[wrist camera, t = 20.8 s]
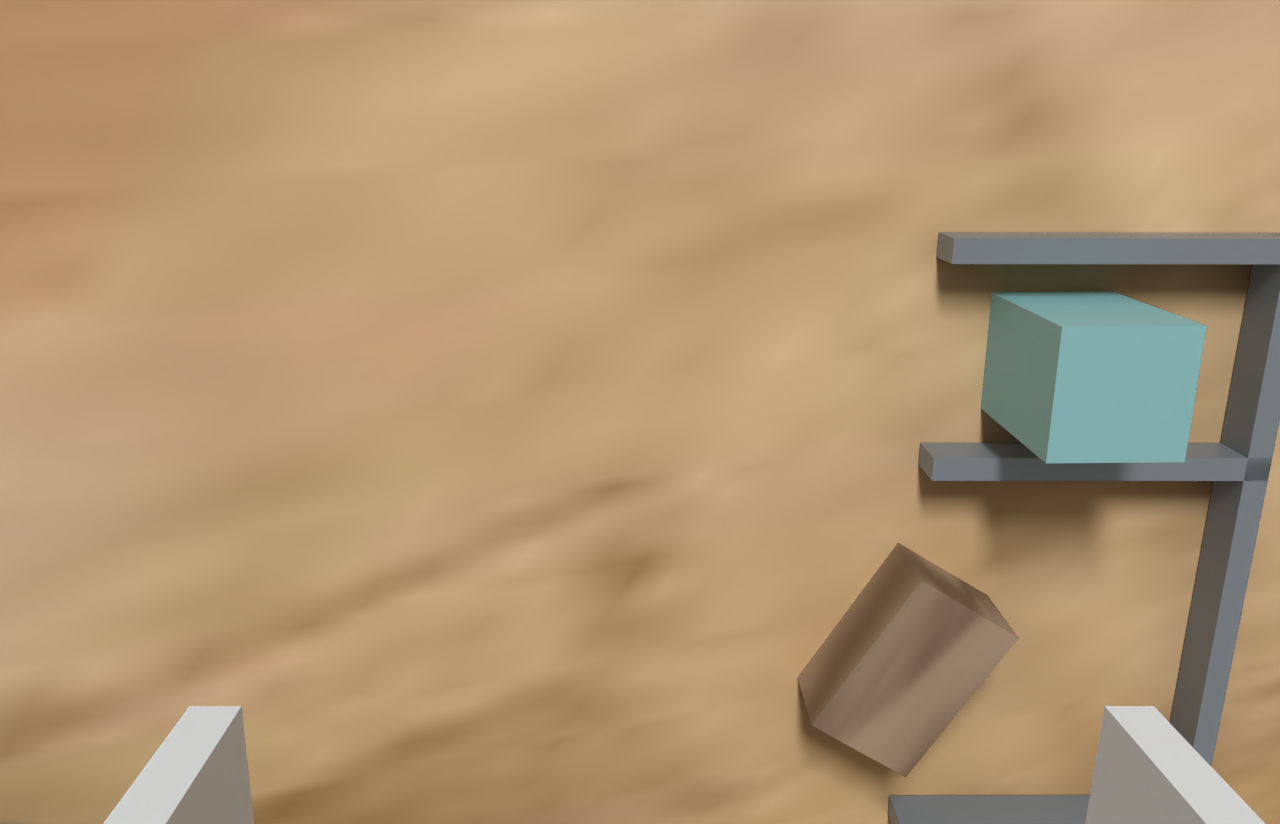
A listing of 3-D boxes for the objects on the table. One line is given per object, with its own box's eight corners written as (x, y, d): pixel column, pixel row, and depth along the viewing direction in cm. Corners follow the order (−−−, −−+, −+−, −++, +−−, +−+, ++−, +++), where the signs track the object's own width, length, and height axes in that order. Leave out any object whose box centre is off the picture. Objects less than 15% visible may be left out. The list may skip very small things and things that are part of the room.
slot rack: (887, 812, 48) (898, 841, 46) (938, 232, 40) (954, 238, 38) (1174, 812, 48) (1196, 841, 46) (1282, 232, 40) (1315, 238, 38)
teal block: (980, 408, 42) (1046, 463, 35) (991, 292, 41) (1062, 326, 34) (1097, 407, 42) (1184, 462, 35) (1112, 291, 41) (1206, 326, 34)
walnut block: (883, 723, 47) (796, 674, 46) (986, 593, 45) (897, 540, 44) (905, 777, 43) (810, 725, 42) (1018, 637, 41) (921, 581, 40)
